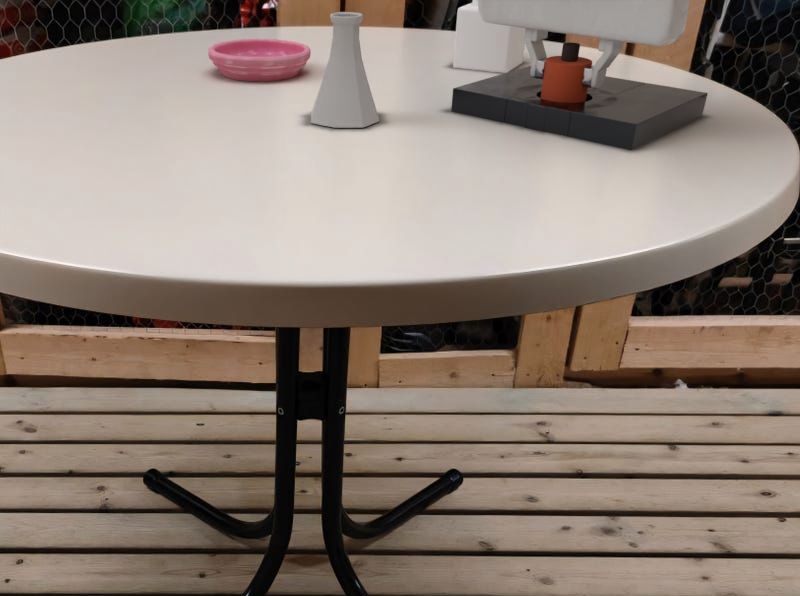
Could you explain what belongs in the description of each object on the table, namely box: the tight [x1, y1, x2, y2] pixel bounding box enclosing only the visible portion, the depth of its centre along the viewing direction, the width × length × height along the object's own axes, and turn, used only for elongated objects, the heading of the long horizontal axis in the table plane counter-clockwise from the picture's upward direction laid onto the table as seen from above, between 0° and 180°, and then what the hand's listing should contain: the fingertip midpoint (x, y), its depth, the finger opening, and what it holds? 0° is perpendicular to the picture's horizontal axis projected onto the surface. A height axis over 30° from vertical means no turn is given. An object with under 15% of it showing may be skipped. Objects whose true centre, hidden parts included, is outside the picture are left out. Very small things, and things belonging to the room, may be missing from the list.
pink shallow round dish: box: [207, 38, 311, 82], centre depth 102 cm, size 12×12×3 cm
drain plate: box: [450, 65, 708, 151], centre depth 86 cm, size 20×16×2 cm
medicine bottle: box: [452, 0, 526, 74], centre depth 103 cm, size 7×7×12 cm
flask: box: [310, 11, 380, 129], centre depth 82 cm, size 7×7×10 cm
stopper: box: [541, 41, 593, 103], centre depth 82 cm, size 4×4×6 cm
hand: (565, 82), depth 82 cm, fingers closed on stopper, 4 cm apart
